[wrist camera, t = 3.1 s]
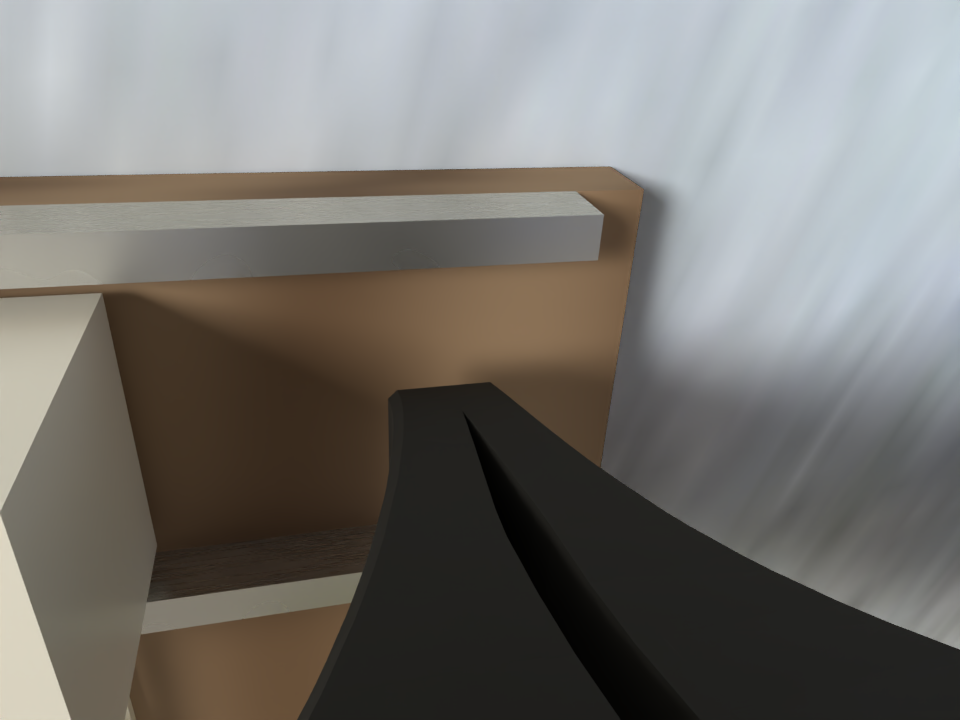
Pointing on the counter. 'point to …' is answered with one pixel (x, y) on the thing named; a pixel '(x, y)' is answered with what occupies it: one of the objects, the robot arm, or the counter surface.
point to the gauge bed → (327, 392)
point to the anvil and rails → (278, 252)
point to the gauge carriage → (68, 515)
